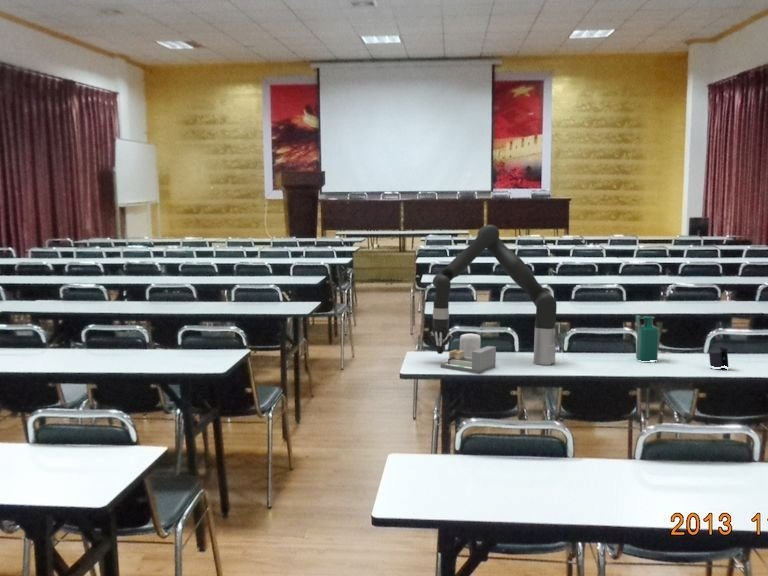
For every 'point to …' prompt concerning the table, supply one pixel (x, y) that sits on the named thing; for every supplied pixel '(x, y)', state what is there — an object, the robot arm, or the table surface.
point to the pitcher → (647, 339)
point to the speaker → (718, 357)
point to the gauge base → (475, 361)
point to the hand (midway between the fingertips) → (440, 353)
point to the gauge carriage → (456, 355)
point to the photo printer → (469, 344)
